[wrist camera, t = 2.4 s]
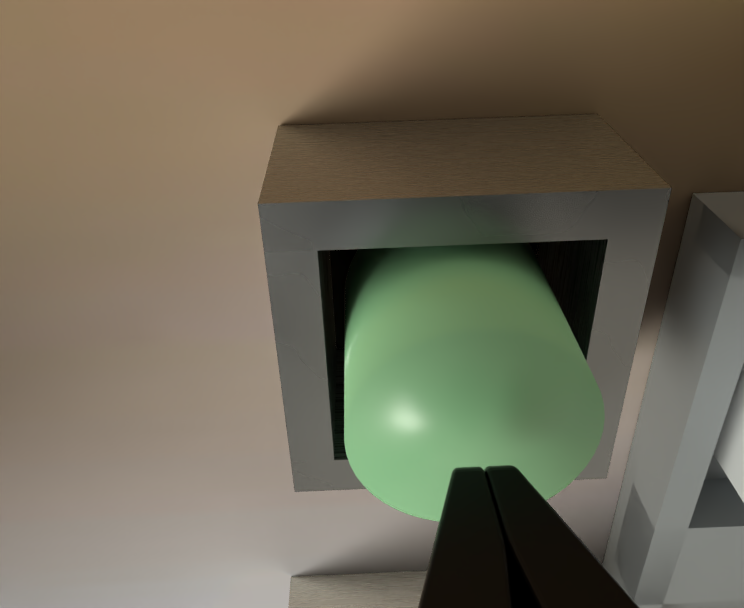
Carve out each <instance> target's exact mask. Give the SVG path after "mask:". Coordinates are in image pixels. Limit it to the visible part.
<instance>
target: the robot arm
mask: <svg viewBox="0 0 744 608" xmlns="http://www.w3.org/2000/svg"><path fill="white" fill-rule="evenodd" d="M418 608H640V607H639V606H638V605H637V604H636V603H635V602H634V600H633V599H632V598H631V597H630V596H629V595H628V594H627V592H626V591H625V590H624V589H623V588H622V587H621V586H620V584H619V583H618V582H617V581H616V580H615V579H614V578H613V577H612V575H611V574H610V573H609V572H608V571H607V570H606V569H605V567H604V566H603V565H602V564H601V563H600V562H599V561H598V559H597V558H596V557H595V556H594V555H593V554H592V553H591V551H590V550H589V549H588V548H587V547H586V546H585V545H584V543H583V542H582V541H581V540H580V539H579V538H578V537H577V536H576V534H575V533H574V532H573V531H572V530H571V529H570V528H569V526H568V525H567V524H566V523H565V522H564V521H563V520H562V518H561V517H560V516H559V515H558V514H557V513H556V512H555V510H554V509H553V508H552V507H551V506H550V505H549V504H548V502H547V501H546V500H545V499H544V498H543V497H542V496H541V494H540V493H539V492H538V491H537V490H536V489H535V488H534V487H533V485H532V484H531V483H530V482H529V481H528V480H527V479H526V477H525V476H524V475H523V474H522V473H521V472H520V471H519V469H518V468H516V467H515V466H512V465H501V466H488V467H486V468H485V469H484V470H483V469H482V468H481V467H457V468H455V469H454V470H453V471H452V474H451V478H450V482H449V486H448V490H447V494H446V498H445V502H444V506H443V510H442V514H441V518H440V522H439V526H438V530H437V533H436V537H435V541H434V545H433V549H432V553H431V557H430V561H429V565H428V569H427V573H426V577H425V581H424V585H423V589H422V593H421V597H420V601H419V605H418Z"/></svg>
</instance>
